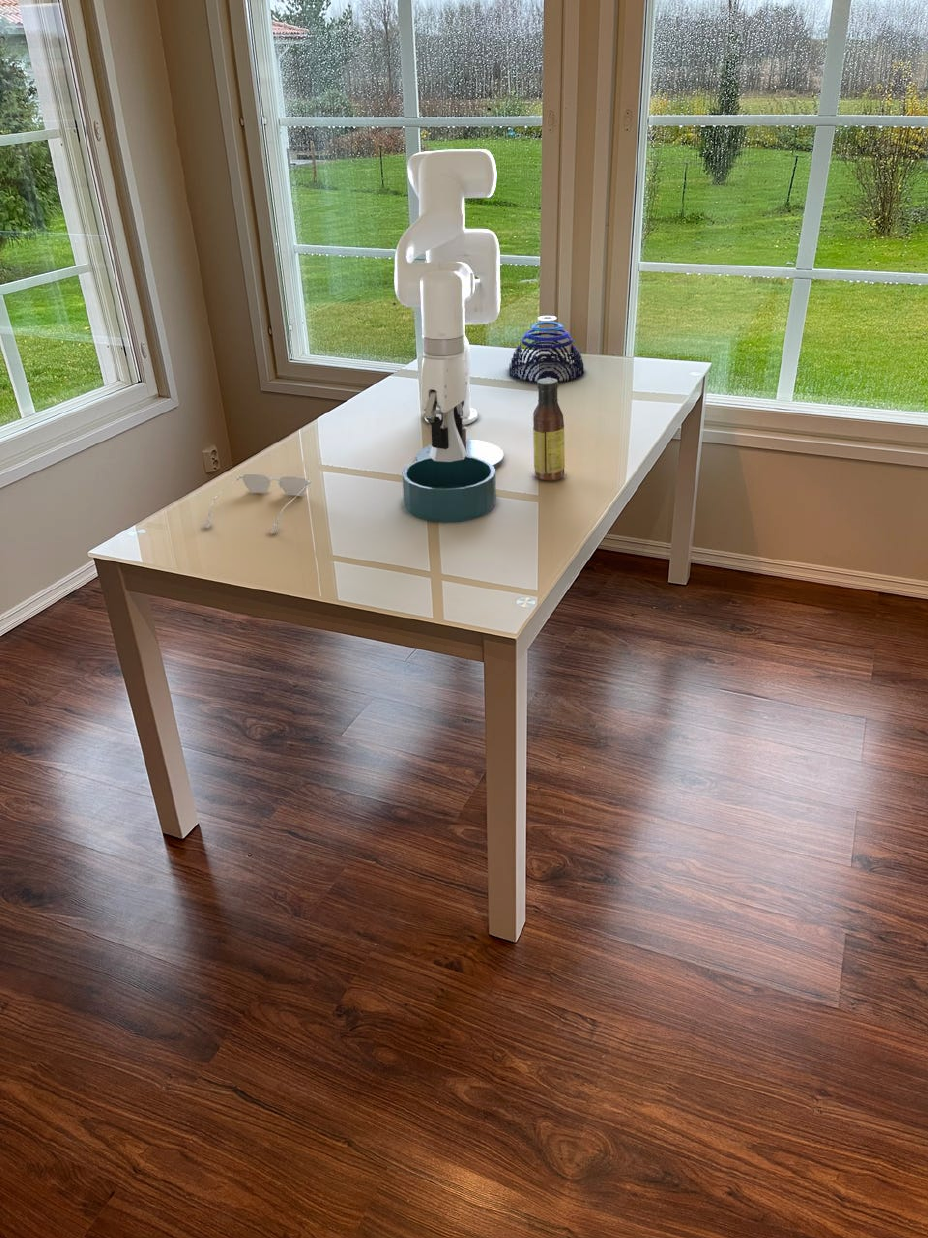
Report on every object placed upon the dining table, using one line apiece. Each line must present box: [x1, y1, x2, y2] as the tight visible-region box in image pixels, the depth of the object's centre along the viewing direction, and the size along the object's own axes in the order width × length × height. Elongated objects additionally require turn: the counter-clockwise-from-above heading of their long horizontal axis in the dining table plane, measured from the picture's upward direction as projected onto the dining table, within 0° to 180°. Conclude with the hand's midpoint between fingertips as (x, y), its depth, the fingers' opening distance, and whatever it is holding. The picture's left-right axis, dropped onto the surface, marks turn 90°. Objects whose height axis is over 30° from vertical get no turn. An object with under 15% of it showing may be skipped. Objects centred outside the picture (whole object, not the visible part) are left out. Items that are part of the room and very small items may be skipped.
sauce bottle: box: [532, 377, 566, 482], centre depth 189 cm, size 7×6×20 cm
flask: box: [429, 407, 467, 462], centre depth 176 cm, size 7×7×10 cm
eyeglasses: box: [205, 472, 312, 534], centre depth 182 cm, size 15×18×4 cm
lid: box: [416, 425, 505, 468], centre depth 201 cm, size 19×19×7 cm
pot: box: [401, 456, 497, 523], centre depth 182 cm, size 18×18×6 cm
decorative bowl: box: [508, 315, 585, 384], centre depth 253 cm, size 20×20×14 cm
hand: (447, 441), depth 177 cm, fingers closed on flask, 5 cm apart
